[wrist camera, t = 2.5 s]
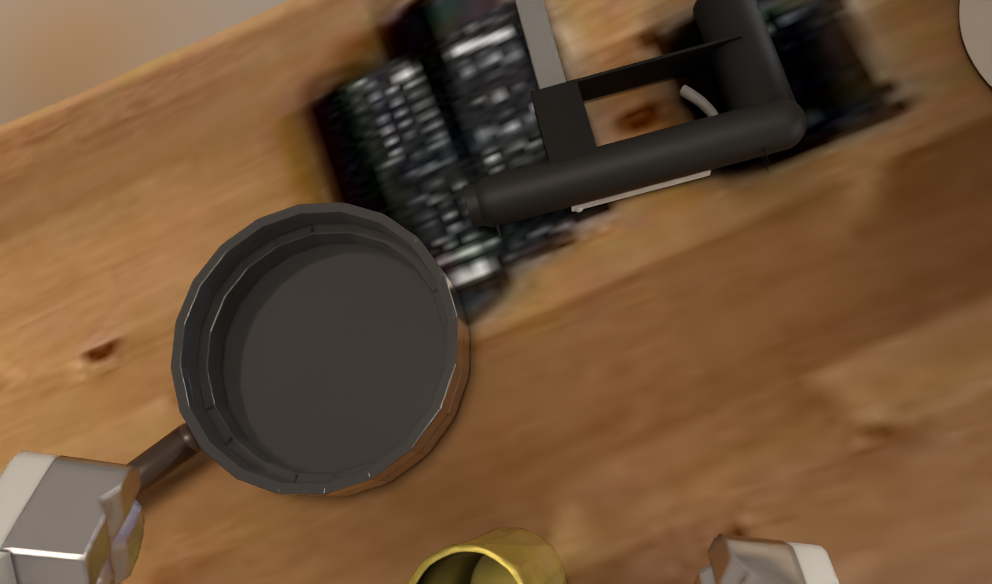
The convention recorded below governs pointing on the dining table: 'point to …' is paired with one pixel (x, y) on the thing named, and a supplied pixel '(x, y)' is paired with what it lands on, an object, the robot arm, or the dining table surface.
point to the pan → (320, 351)
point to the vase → (494, 561)
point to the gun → (656, 155)
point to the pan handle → (165, 456)
